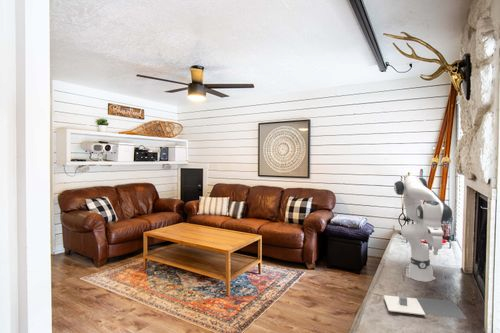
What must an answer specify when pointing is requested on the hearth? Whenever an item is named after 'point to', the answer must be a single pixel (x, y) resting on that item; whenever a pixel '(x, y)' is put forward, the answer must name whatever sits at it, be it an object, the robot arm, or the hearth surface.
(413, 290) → the hearth surface
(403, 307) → the cover sheet
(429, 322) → the hearth surface
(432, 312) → the charcoal mat
